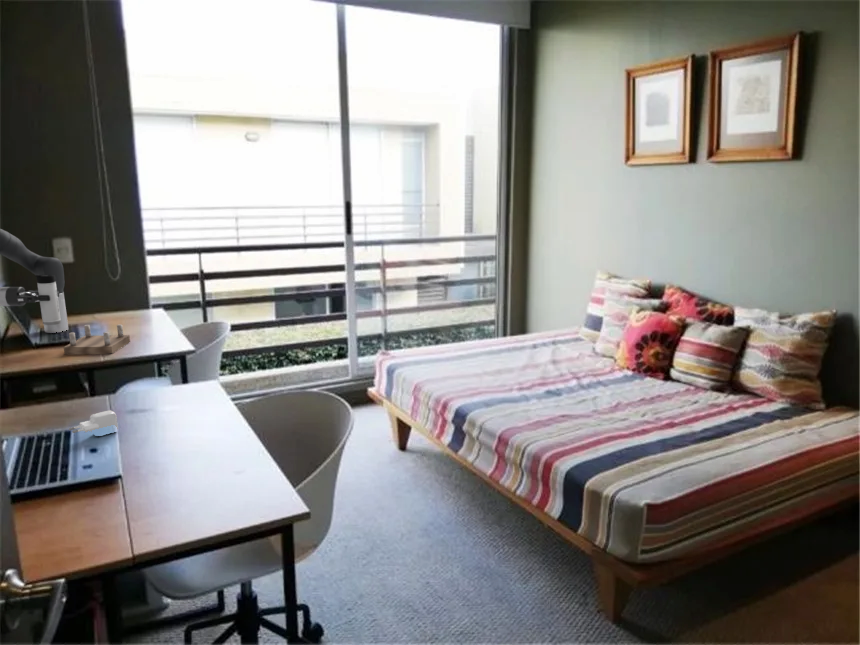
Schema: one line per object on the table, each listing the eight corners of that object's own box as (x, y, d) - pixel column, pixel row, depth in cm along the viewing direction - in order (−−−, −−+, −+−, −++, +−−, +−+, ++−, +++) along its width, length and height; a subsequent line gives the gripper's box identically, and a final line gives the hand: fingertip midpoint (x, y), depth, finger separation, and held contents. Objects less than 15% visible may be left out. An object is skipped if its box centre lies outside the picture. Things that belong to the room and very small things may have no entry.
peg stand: (64, 354, 242) (62, 334, 241) (85, 342, 260) (83, 324, 258) (112, 353, 244) (110, 334, 242) (130, 342, 261) (128, 323, 259)
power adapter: (75, 445, 161) (72, 424, 160) (69, 440, 164) (66, 419, 163) (120, 433, 169) (117, 412, 167) (113, 428, 172) (110, 408, 171)
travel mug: (38, 323, 247) (31, 274, 242) (55, 320, 253) (48, 272, 248) (48, 326, 244) (41, 275, 239) (64, 322, 250) (58, 273, 245)
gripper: (-3, 290, 237) (43, 290, 238) (18, 283, 251) (62, 283, 252) (0, 309, 239) (46, 309, 240) (21, 301, 252) (64, 301, 254)
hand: (54, 296), depth 246 cm, fingers closed on travel mug, 6 cm apart
